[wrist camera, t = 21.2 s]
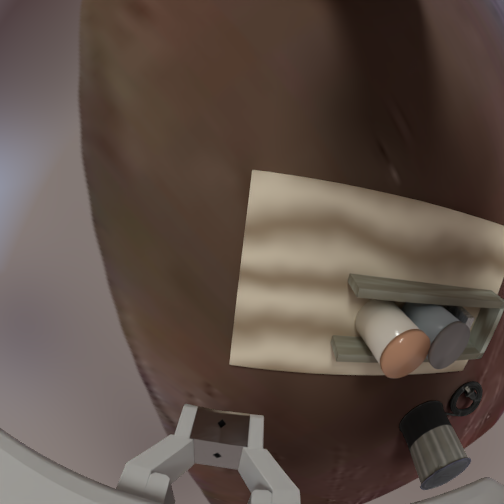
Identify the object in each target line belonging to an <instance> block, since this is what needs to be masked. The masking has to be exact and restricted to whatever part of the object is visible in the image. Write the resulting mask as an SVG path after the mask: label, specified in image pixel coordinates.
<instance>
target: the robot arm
mask: <svg viewBox="0 0 504 504" xmlns="http://www.w3.org/2000/svg"><path fill="white" fill-rule="evenodd" d="M263 435H264V416H262V415H253V414H246V413H237V412H229V411H220V410H214V409H209V408H204V407H199V406H194V405H189V404H185V405H184V407H183V410H182V413H181V416H180V419H179V422H178V425H177V429H176V432H175V435H169V436H168V437H166V438H165V439H163V440H162V441H160V442H159V443H157V444H156V445H154V446H153V447H151V448H149V449H148V450H146V451H145V452H143V453H142V454H140V455H138V456H137V457H135V458H134V459H132V460H130V461H129V462H127V463H126V465H125V468H124V470H123V473H122V475H121V478H120V480H119V482H118V485H117V487H116V489H115V488H112V487H109V486H107V485H104V484H101V483H99V482H97V481H94V480H92V479H90V478H87V477H85V476H83V475H80V474H78V473H76V472H74V471H72V470H70V469H68V468H66V467H64V466H62V465H60V464H58V463H56V462H54V461H52V460H50V459H49V458H47V457H45V456H43V455H41V454H40V453H38V452H36V451H35V450H33V449H31V448H30V447H28V446H26V445H25V444H23V443H22V442H20V441H18V440H17V439H16V438H14V437H12V436H11V435H10V434H8V433H6V432H5V431H4V430H2V429H1V428H0V504H175V499H174V495H173V491H172V486H171V484H172V483H173V482H174V481H176V480H177V479H178V478H179V477H180V476H181V475H182V474H184V473H185V472H186V471H187V470H188V469H189V468H190V467H191V466H193V465H194V463H198V464H204V465H211V466H218V467H224V468H230V469H237V470H238V471H239V473H240V475H241V476H242V478H243V480H244V482H245V483H246V485H247V487H248V489H249V490H250V492H251V496H250V499H249V501H248V504H300V490H299V489H298V488H297V487H296V486H295V484H294V483H293V482H292V481H291V479H290V478H289V477H288V476H287V474H286V473H285V472H284V471H283V469H282V468H281V467H280V466H279V464H278V463H277V462H276V461H275V459H274V458H273V457H272V455H271V454H270V453H269V451H268V450H267V449H263ZM411 504H504V485H503V484H501V483H499V482H498V481H495V480H494V479H492V478H490V477H485V478H482V479H479V480H477V481H475V482H472V483H470V484H467V485H465V486H463V487H460V488H457V489H455V490H452V491H449V492H447V493H444V494H441V495H438V496H435V497H432V498H428V499H425V500H422V501H418V502H414V503H411Z"/></svg>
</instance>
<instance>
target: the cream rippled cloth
mask: <svg viewBox="0 0 504 504" xmlns="http://www.w3.org/2000/svg"><path fill="white" fill-rule="evenodd" d="M503 277H504V226H503V225H500V224H497V223H494V222H491V221H488V220H485V219H482V218H479V217H475V216H472V215H469V214H465V213H462V212H459V211H455V210H452V209H448V208H445V207H441V206H437V205H434V204H430V203H426V202H422V201H418V200H414V199H410V198H406V197H402V196H398V195H393V194H389V193H385V192H380V191H375V190H371V189H366V188H361V187H356V186H351V185H346V184H341V183H335V182H330V181H324V180H318V179H313V178H307V177H300V176H294V175H287V174H280V173H273V172H266V171H258V170H252V177H251V185H250V193H249V201H248V209H247V217H246V225H245V234H244V242H243V250H242V259H241V267H240V276H239V284H238V293H237V302H236V310H235V319H234V328H233V337H232V346H231V355H230V364H229V365H236V366H243V367H251V368H259V369H268V370H278V371H289V372H301V373H316V374H337V375H385V374H384V373H383V371H382V369H381V367H380V365H379V363H378V361H377V360H376V358H375V357H374V355H373V354H372V352H371V351H370V349H369V348H368V346H367V345H366V343H365V342H364V340H363V339H362V337H361V335H360V334H359V332H358V331H357V329H356V325H355V323H356V317H357V315H358V313H359V311H360V310H361V308H362V307H363V306H364V305H365V304H366V303H367V302H369V301H370V300H372V299H378V300H389V301H393V302H394V303H395V304H396V305H397V306H398V307H399V308H400V309H402V307H403V306H404V304H405V303H406V302H411V303H423V304H436V305H450V306H462V307H463V308H464V309H465V310H467V311H468V312H469V313H470V314H471V315H472V316H473V317H474V318H475V319H474V321H473V323H472V326H471V328H470V338H469V341H468V344H467V346H466V348H465V349H464V351H463V353H462V354H461V355H460V356H459V358H458V359H457V360H456V361H454V363H452V364H451V365H449V366H448V367H446V368H443V369H435V368H433V367H432V365H431V364H430V363H429V362H428V359H427V358H425V360H424V361H423V362H422V364H421V365H420V366H419V367H418V368H417V369H415V370H414V371H413V372H411V373H410V374H427V373H441V372H453V371H463V369H464V367H465V365H466V363H467V361H468V360H469V359H480V358H481V357H482V356H483V354H484V352H485V350H486V348H487V346H488V344H489V342H490V340H491V338H492V335H493V333H494V331H495V329H496V327H497V324H498V322H499V320H500V318H501V315H502V313H503V310H504V300H503V299H502V298H501V297H499V296H498V292H499V289H500V286H501V283H502V280H503Z"/></svg>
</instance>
